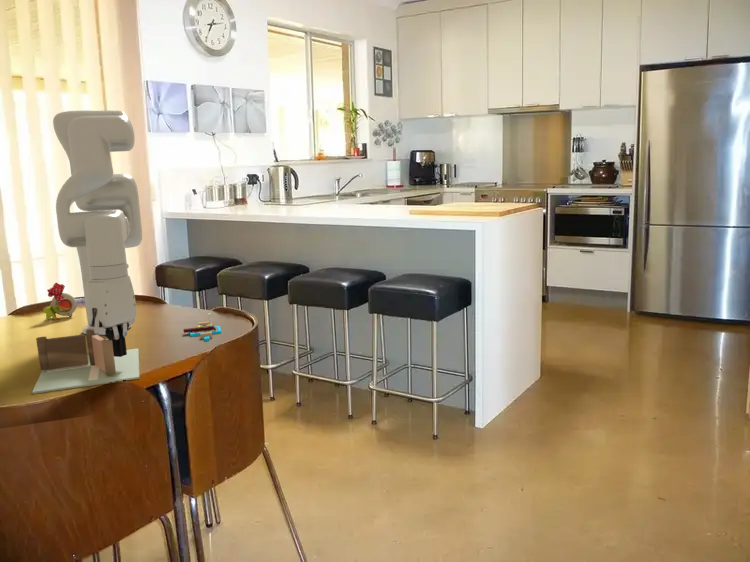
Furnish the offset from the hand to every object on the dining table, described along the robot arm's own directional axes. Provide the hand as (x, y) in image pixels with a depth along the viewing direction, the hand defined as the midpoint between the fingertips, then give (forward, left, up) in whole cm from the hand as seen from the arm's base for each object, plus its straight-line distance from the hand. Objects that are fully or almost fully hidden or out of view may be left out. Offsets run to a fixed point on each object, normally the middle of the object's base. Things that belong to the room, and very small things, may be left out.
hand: (118, 355), depth 145 cm
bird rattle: (-71, -18, -4) cm, 73 cm away
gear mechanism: (-26, +20, -4) cm, 33 cm away
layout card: (-3, -6, -3) cm, 8 cm away
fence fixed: (-6, -10, -3) cm, 12 cm away
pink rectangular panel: (+1, -3, -2) cm, 4 cm away
